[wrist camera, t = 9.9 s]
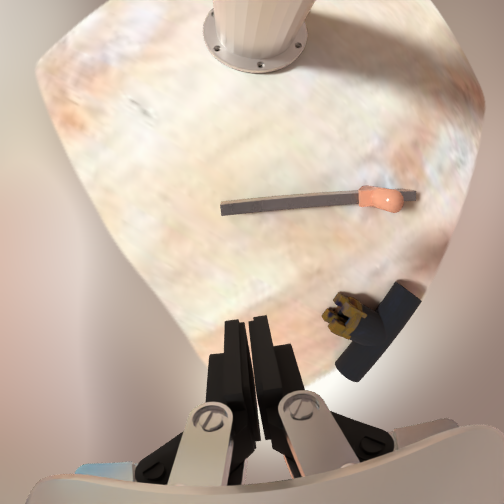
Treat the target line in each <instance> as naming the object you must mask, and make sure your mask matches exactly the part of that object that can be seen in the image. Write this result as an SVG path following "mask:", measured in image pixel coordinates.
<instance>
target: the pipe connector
mask: <svg viewBox="0 0 504 504" xmlns="http://www.w3.org/2000/svg"><path fill="white" fill-rule="evenodd" d="M333 301H334V302H335V304H336V305H338V307H337V308H336V309H335V311H332V310H330V309H328V308H327V309H326V311H325V312H324V313H323V315H322V318H323V319H324V321H326V322H328V323H330V324H329V325H328V327H329V329H330V330H331V332H333V333H334V334H336V335H338V336H341V337H344V338H346V339H350V340H352V342H351V344H350V345H349V346H348V347H347V349H346V350H345V351H344V352H343V353H342V355H341V356H340V357H339V358H338V360H337V361H336V362H335V365H336V368H337V369H338V370H339V372H340V373H341V374H342V375H344V376H345V377H346V378H347V379H349V380H351V381H353V382H359V381H360V380H361V379H362V378H363V377H364V375H365V374H366V373H367V372H368V371H369V370H370V369H371V367H372V366H373V365H374V364H375V363H376V361H377V360H378V359H379V358H380V357H381V355H382V354H383V353H384V352H385V351H386V349H387V348H388V347H389V346H390V344H391V343H392V341H393V340H394V339H395V338H396V336H397V335H398V334H399V333H400V331H401V330H402V329H403V327H404V326H405V324H406V323H407V322H408V320H409V319H410V317H411V316H412V315H413V313H414V312H415V310H416V309H417V307H418V306H419V305H420V303H421V302H422V301H421V300H420V299H419V298H417V297H416V296H415V295H413V294H412V293H411V292H409V291H408V290H407V289H405V288H404V287H403V286H401V285H400V284H398V283H397V282H395V283H394V285H393V286H392V288H391V289H390V290H389V292H388V293H387V295H386V296H385V298H384V299H383V301H382V302H381V304H380V305H379V306H378V308H377V309H376V311H373V310H371V309H370V308H368V307H366V306H364V305H363V304H361V303H360V302H359V301H358V300H356V299H354V298H352V297H346V296H344V295H343V294H341V293H339V292H338V294H337V295H336V297H335V298H334V299H333Z"/></svg>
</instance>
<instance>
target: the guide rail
mask: <svg viewBox="0 0 504 504" xmlns="http://www.w3.org/2000/svg"><path fill="white" fill-rule="evenodd" d="M404 201H416V191H413V190H407V189H386V188H380V187H374V186H367V185H365V186H362V187H361V188H360V189H359V190H357V191H338V192H322V193H307V194H294V195H282V196H271V197H260V198H250V199H241V200H232V201H223V202H221V204H220V206H221V215H222V216H225V215H234V214H243V213H252V212H262V211H272V210H283V209H294V208H305V207H317V206H330V205H344V204H359V206H360V207H365V206H373V207H376V208H379V209H383V210H386V211H389V212H392V213H396V212H399V211H400V210H401V209H402V207H403V203H404Z"/></svg>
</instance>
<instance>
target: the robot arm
mask: <svg viewBox="0 0 504 504" xmlns="http://www.w3.org/2000/svg"><path fill="white" fill-rule="evenodd" d="M315 1H316V0H213V7H214V8H213V9H212V10H211V11H210V12H209V13H208V15H207V17H206V19H205V22H204V25H203V36H204V41H205V44H206V46H207V48H208V50H209V51H210V53H211V54H212V55H213V56H214V57H215V58H216V59H217V60H219V61H220V62H221V63H223V64H224V65H226V66H229V67H231V68H233V69H236V70H240V71H243V72H251V73H265V72H271V71H275V70H278V69H281V68H284V67H285V66H287V65H289V64H291V63H292V62H293V61H295V60H296V59H297V58H298V56H299V55H300V54H301V53H302V51H303V49H304V48H305V45H306V42H307V34H308V32H307V27H306V24H305V22H304V20H305V18H306V17H307V15H308V13H309V11H310V9H311V8H312V6H313V4H314V2H315ZM296 47H298V48H296ZM216 50H220V51H216ZM258 66H262V68H259V67H258ZM253 319H254V321H249V332H250V341H251V351H252V360H253V368H252V363H251V357H250V352H249V346H248V340H247V335H246V329H245V323H244V322H241V323H239V320H238V319H237V320H229V321H225V334H224V353H220V354H210V356H209V365H208V378H207V390H206V391H207V392H206V403H204V404H201V405H199V406H197V407H195V408H194V409H193V410H192V411H191V413H190V414H189V416H188V419H187V422H186V425H185V429H184V431H183V432H182V433H180V434H179V435H177V436H176V437H175V438H173V439H172V440H171V441H169V442H168V443H166V444H165V445H163V446H162V447H160V448H159V449H157V450H156V451H154V452H153V453H151V454H150V455H148V456H147V457H145V458H144V459H142V460H141V461H140V462H139V463H135V464H134V463H133V462H119V463H96V464H95V463H94V464H83V465H82V466H80V467H78V469H77V470H76V471H75V474H60V475H54V476H49V477H45V478H43V479H41V480H40V481H38V482H37V483H36V484H35V486H34V487H33V489H32V490H31V492H30V494H29V496H28V498H27V500H26V503H25V504H504V434H503V433H502V432H501V431H500V430H498V429H497V428H495V427H493V426H490V425H469V426H463V427H459V426H458V424H457V423H456V422H455V421H454V420H452V419H448V418H444V419H438V420H434V421H430V422H425V423H421V424H417V425H411V426H406V427H401V428H396V429H394V431H391V432H386V431H384V430H382V429H379V428H376V427H373V426H370V425H367V424H364V423H361V422H359V421H356V420H353V419H350V418H347V417H345V416H342V415H339V414H337V413H334V412H332V411H329V409H328V407H327V405H326V404H325V402H324V401H323V399H322V398H321V397H320V395H318V394H316V393H315V392H312V391H308V390H305V389H304V385H303V382H302V379H301V375H300V372H299V369H298V365H297V362H296V359H295V355H294V352H293V349H292V346H291V344H285V345H279V346H273V343H272V338H271V333H270V329H269V324H268V319H267V315H265V316H258V317H253ZM253 369H254V375H253ZM254 378H255V383H254ZM255 387H256V392H255ZM256 394H257V399H258V404H259V410H260V414H261V420H262V425H263V430H264V435H265V439H266V440H269V439H271V442H272V448H273V449H274V450H276V451H278V452H280V453H281V454H283V455H284V459H285V462H286V464H287V467H288V469H289V472H290V475H291V477H292V479H288V480H282V481H275V482H268V483H259V484H248V485H245V479H246V470H247V458H248V457H249V456H250V455H251V454H252V453H253V452H254V449H256V442H255V441H261V437H260V428H259V419H258V410H257V401H256Z"/></svg>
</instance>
